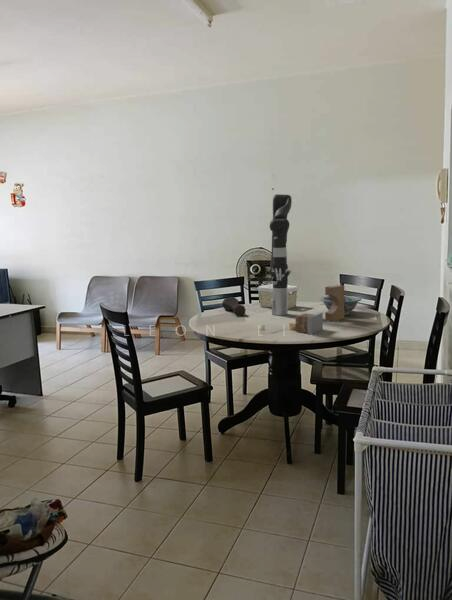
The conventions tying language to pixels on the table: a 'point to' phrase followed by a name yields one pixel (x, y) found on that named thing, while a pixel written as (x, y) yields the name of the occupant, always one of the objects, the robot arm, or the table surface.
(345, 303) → the bowl
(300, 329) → the socket block
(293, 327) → the tan wooden block
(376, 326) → the table surface
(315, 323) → the wall
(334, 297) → the decorative block
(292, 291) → the storage basket
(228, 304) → the dark brown bone
